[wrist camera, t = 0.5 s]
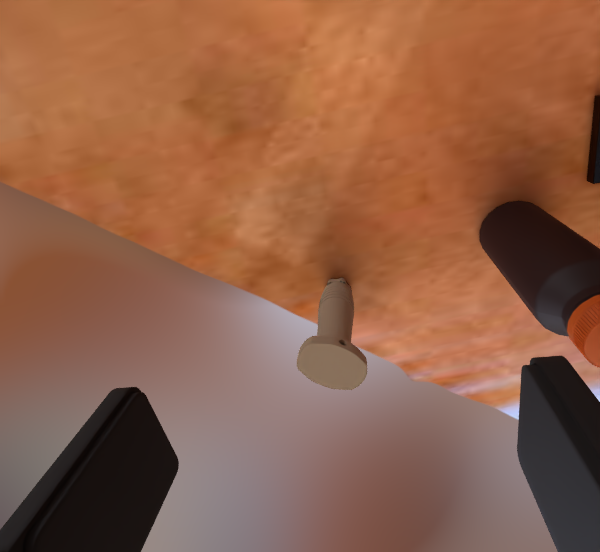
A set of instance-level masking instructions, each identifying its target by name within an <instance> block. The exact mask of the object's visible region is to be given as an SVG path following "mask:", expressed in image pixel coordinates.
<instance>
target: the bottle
mask: <svg viewBox="0 0 600 552" xmlns="http://www.w3.org/2000/svg"><path fill="white" fill-rule="evenodd" d="M480 243H481V245H482V248H483V249H484V251H485V252H486V253H487V255H488V256H489V257H490V259H491V260H492V261H493V263H494V264H495V265H496V266H497V268H498V269H499V270H500V272H501V273H502V274H503V276H504V277H505V278H506V280H507V281H508V282H509V284H510V285H511V286H512V288H513V289H514V290H515V291H516V293H517V294H518V295H519V297H520V298H521V299H522V301H523V302H524V303H525V305H526V306H527V307H528V309H529V310H530V311H531V312H532V314H533V315H534V316H535V318H536V319H537V320H538V321H539V322H540V323H541V324H542V325H543V326H544V327H545V328H546V329H548V330H550V331H552V332H554V333H556V334H558V335H564V336H569V338H570V340H571V341H572V342H573V343H574V344H575V346H576V347H577V348H578V349H579V351H580V352H581V353H582V354H583V355H584V357H585V358H586V359H587V360H588V361H589V362H590V363H592V365H593V364H594V365H595V366H597V367H600V249H599V248H598V247H596V246H595V245H593V244H592V243H590V242H589V241H588V240H586V239H585V238H583V237H582V236H580V235H579V234H577V233H576V232H574V231H573V230H572V229H570V228H569V227H567V226H566V225H564V224H563V223H561V222H560V221H558V220H557V219H556V218H554V217H553V216H551V215H550V214H548V213H547V212H545V211H544V210H542V209H541V208H540V207H538V206H536V205H534V204H532V203H530V202H523V201H515V202H508V203H505V204H503V205H501V206H499V207H497V208H496V209H494V210H493V211H492V212H490V213H489V214H488V216H487V217H486V218H485V220H484V221H483V223H482V226H481V228H480Z"/></svg>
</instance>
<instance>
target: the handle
mask: <svg viewBox="0 0 600 552" xmlns="http://www.w3.org/2000/svg"><path fill="white" fill-rule="evenodd" d="M353 317H354V302H353V296H352V290H351V286H349V285H348V284H347V283H346V280H345V279H344V278H339V279H330V280H329V281H328V283H327V286H326V287H325V289H324V291H323V294H322V296H321V300H320V304H319V310H318V332H317V336H312V337H310V338H308V339H307V340H306V341H305V342H304V343H303V344H302V346H301V348H300V350H299V354H298V358H297V367H298V369H299V370H300V371H301V372H302V373H303V374H304V375H305V376H306V377H307V378H309V379H310V380H311V381H313V382H315V383H317V384H320V385H323V386H325V387H328V388H331V389H343V390H352V389H354V388H356V387H358V386H359V385H360V384H361V383H362V382H363V381H364V379H365V377H366V375H367V361H366V357H365V356H364V355H363V354H362V352H361V351H360V350H359V349H358V348H357V347H356V346H354V345H353V344H352V343H351V334H352V326H353Z"/></svg>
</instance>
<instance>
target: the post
mask: <svg viewBox="0 0 600 552" xmlns="http://www.w3.org/2000/svg"><path fill="white" fill-rule="evenodd" d="M587 181H588V182H590V183H593V184H595V183H600V95H597V96H595V102H594V112H593V123H592V133H591V144H590V154H589V164H588V175H587Z"/></svg>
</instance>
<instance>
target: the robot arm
mask: <svg viewBox="0 0 600 552" xmlns="http://www.w3.org/2000/svg"><path fill="white" fill-rule="evenodd" d="M517 451H518V457H519V462H520V464H521V467H522V470H523V472H524V474H525V476H526V479H527V481H528V483H529V486H530V488H531V490H532V493H533V495H534V498H535V499H536V502H537V504H538V507H539V509H540V511H541V514H542V516H543V518H544V521H545V523H546V525H547V527H548V530H549V532H550V535H551V537H552V539H553V542H554V544H555V546H556V548H557V551H558V552H600V402H599V401H598V399H597V398H596V397H595V395H594V394H593V393H592V392H591V390H590V389H589V388H588V386H587V385H586V384H585V382H584V381H583V380H582V379H581V377H580V376H579V375H578V373H577V372H576V371H575V369H574V368H573V367H572V365H571V364H570V363H569V362H568V360H567V359H566V358H565V357H563V356H551V357H537V358H532V359H531V361H530V365H524V366H523V367H522V373H521V390H520V408H519V427H518V444H517ZM178 464H179V463H178V458H177V456H176V454H175V452H174V450H173V448H172V446H171V444H170V442H169V440H168V438H167V436H166V434H165V432H164V430H163V428H162V426H161V424H160V422H159V420H158V418H157V416H156V414H155V412H154V411H153V409H152V407H151V405H150V403H149V401H148V399H147V397H146V395H145V394H144V393H143V392H141V391H140V390H139V389H138V388H137V387H129V388H116V389H114V390H112V391H111V392H110V393H109V394H108V395H107V397H106V398H105V399H104V401H103V402H102V403H101V404H100V405H99V407H98V408H97V409H96V410H95V412H94V413H93V414H92V415H91V417H90V418H89V419H88V421H87V422H86V423H85V424H84V426H83V427H82V428H81V429H80V431H79V432H78V433H77V434H76V436H75V437H74V438H73V439H72V441H71V442H70V443H69V444H68V446H67V447H66V448H65V450H64V451H63V452H62V453H61V454H60V456H59V457H58V458H57V460H56V461H55V462H54V463H53V464H52V466H51V467H50V468H49V470H48V471H47V472H46V473H45V474H44V476H43V477H42V478H41V479H40V481H39V482H38V483H37V484H36V486H35V487H34V488H33V489H32V491H31V492H30V493H29V495H28V496H27V497H26V498H25V500H24V501H23V502H22V503H21V505H20V506H19V507H18V509H17V510H16V511H15V512H14V514H13V515H12V516H11V517H10V518H9V520H8V521H7V522H6V523H5V525H4V526H3V527H2V528H1V530H0V552H141V550H142V548H143V546H144V543H145V541H146V539H147V537H148V535H149V532H150V530H151V528H152V526H153V524H154V522H155V519H156V517H157V515H158V513H159V511H160V509H161V506H162V504H163V502H164V500H165V498H166V496H167V493H168V491H169V489H170V487H171V485H172V483H173V480H174V478H175V476H176V474H177V471H178Z"/></svg>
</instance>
